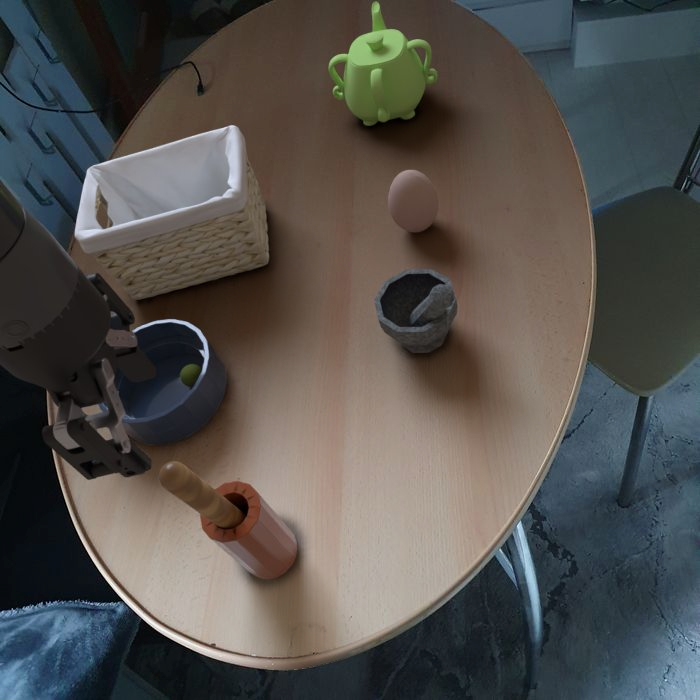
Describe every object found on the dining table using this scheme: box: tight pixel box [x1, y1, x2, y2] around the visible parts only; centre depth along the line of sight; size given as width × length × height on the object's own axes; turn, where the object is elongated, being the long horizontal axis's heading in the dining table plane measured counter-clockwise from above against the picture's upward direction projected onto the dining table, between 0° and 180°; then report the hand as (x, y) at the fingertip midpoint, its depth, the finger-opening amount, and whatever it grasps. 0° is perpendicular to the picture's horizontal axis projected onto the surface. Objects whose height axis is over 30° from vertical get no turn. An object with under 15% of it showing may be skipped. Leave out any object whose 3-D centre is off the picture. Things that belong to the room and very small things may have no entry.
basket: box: [74, 124, 270, 301], centre depth 98 cm, size 24×16×15 cm
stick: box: [158, 460, 247, 530], centre depth 64 cm, size 2×2×22 cm
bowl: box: [97, 318, 228, 446], centre depth 86 cm, size 15×15×6 cm
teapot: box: [328, 0, 439, 127], centre depth 109 cm, size 16×14×13 cm
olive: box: [180, 364, 202, 387], centre depth 87 cm, size 3×3×3 cm
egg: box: [387, 169, 439, 233], centre depth 92 cm, size 7×7×10 cm
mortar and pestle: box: [373, 268, 458, 354], centre depth 80 cm, size 11×9×12 cm
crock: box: [199, 480, 298, 580], centre depth 69 cm, size 6×6×12 cm
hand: (143, 420), depth 54 cm, fingers open, 8 cm apart
